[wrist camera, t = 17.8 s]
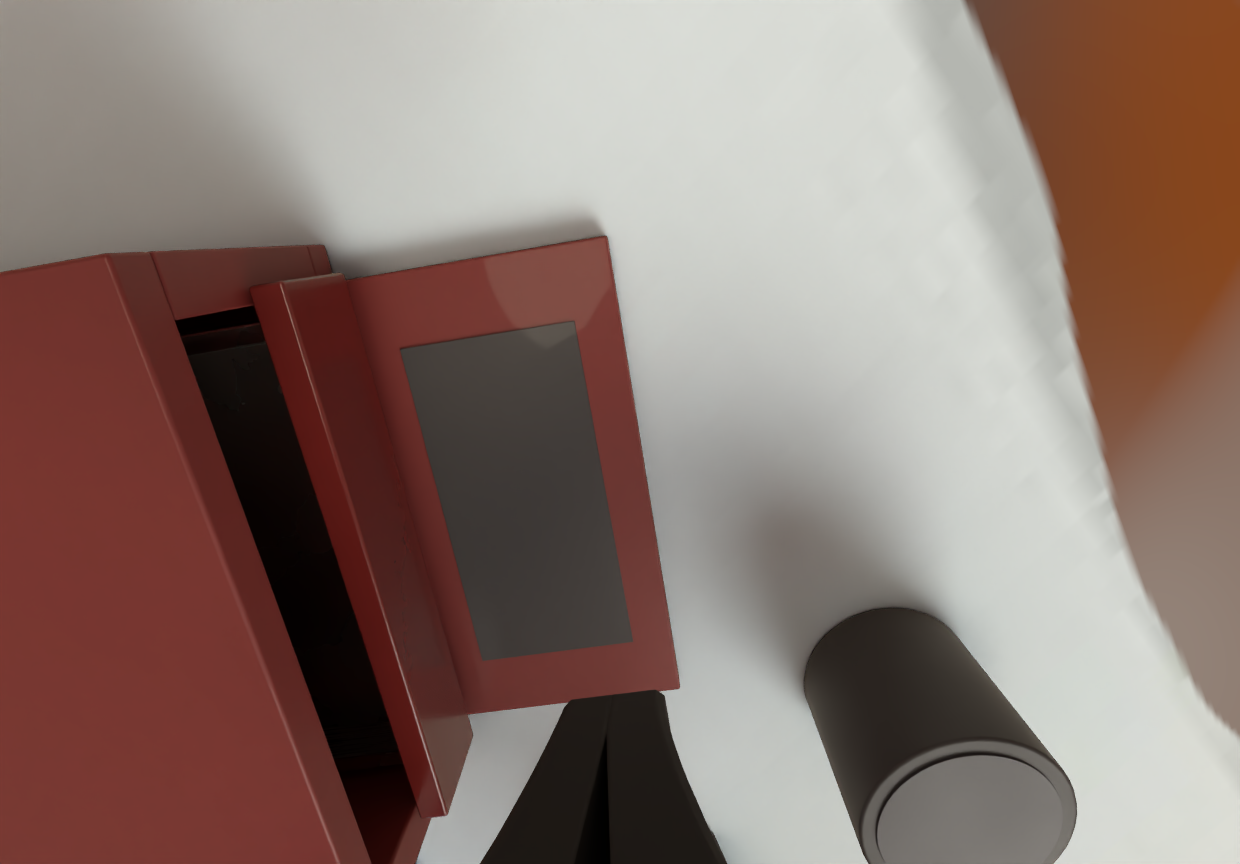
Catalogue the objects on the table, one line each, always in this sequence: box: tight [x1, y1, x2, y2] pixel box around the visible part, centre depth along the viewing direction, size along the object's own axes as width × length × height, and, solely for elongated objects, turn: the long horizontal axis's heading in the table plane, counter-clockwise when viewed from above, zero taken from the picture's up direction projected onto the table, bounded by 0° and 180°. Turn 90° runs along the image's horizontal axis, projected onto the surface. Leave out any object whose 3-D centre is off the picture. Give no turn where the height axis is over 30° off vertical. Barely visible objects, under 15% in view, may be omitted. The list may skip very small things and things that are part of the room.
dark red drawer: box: [179, 273, 473, 818], centre depth 17 cm, size 13×14×3 cm
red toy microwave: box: [0, 236, 680, 864], centre depth 16 cm, size 22×16×8 cm
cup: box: [804, 608, 1077, 864], centre depth 18 cm, size 5×5×6 cm
